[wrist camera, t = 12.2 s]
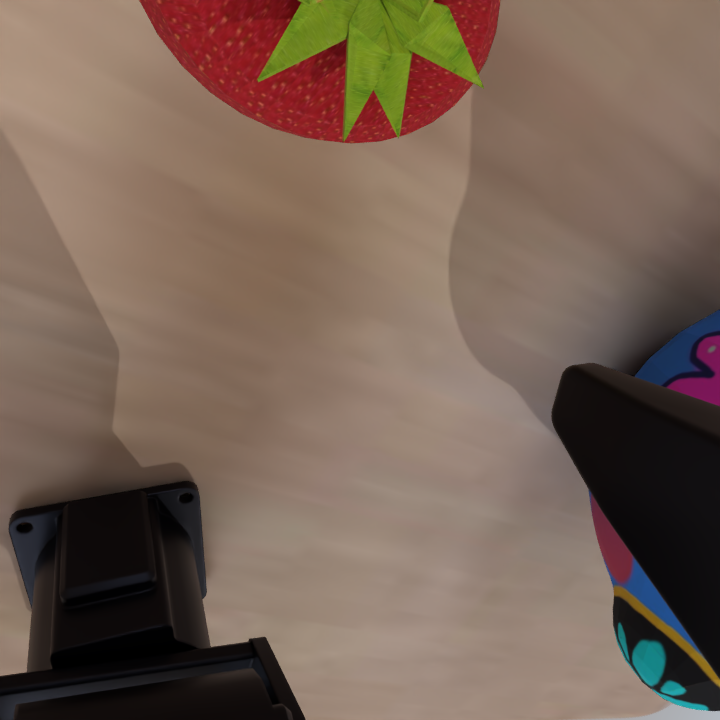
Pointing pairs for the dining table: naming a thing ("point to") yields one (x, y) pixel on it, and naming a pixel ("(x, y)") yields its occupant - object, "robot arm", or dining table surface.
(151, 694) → the robot arm
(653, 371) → the ceramic pot
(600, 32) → the dining table surface
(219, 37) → the strawberry
